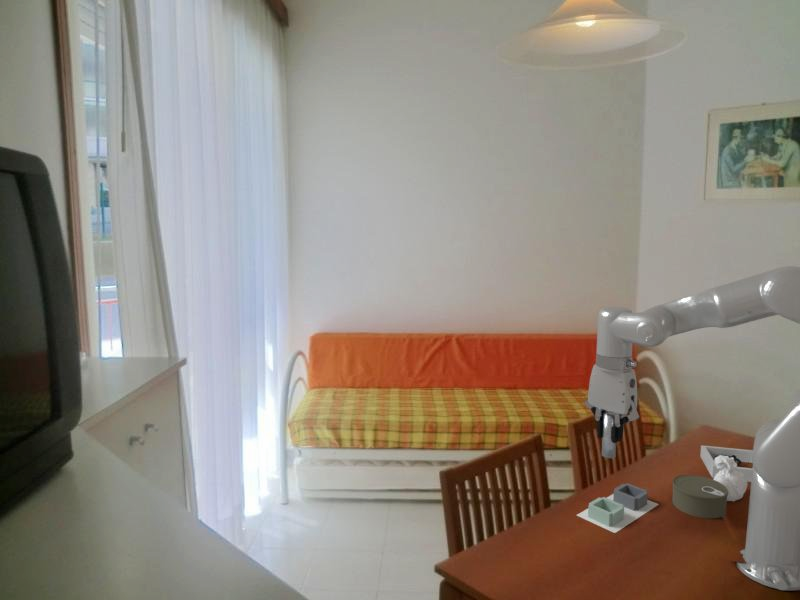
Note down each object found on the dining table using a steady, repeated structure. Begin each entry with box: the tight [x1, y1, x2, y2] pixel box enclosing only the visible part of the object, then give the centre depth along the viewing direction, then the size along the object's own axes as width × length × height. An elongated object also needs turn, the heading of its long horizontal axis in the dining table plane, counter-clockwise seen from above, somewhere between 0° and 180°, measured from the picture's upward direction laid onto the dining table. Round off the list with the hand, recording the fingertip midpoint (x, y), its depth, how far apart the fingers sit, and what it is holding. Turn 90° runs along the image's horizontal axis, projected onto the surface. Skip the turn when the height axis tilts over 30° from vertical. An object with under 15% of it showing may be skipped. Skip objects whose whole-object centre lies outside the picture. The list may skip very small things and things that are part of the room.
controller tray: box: [699, 445, 753, 483], centre depth 161 cm, size 14×14×4 cm
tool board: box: [576, 482, 659, 534], centre depth 137 cm, size 20×10×4 cm, turn 129°
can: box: [671, 474, 728, 521], centre depth 138 cm, size 12×12×7 cm
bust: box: [712, 455, 748, 502], centre depth 147 cm, size 12×8×11 cm
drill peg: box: [601, 411, 617, 459], centre depth 131 cm, size 3×3×10 cm
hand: (609, 438), depth 131 cm, fingers closed on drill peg, 3 cm apart
